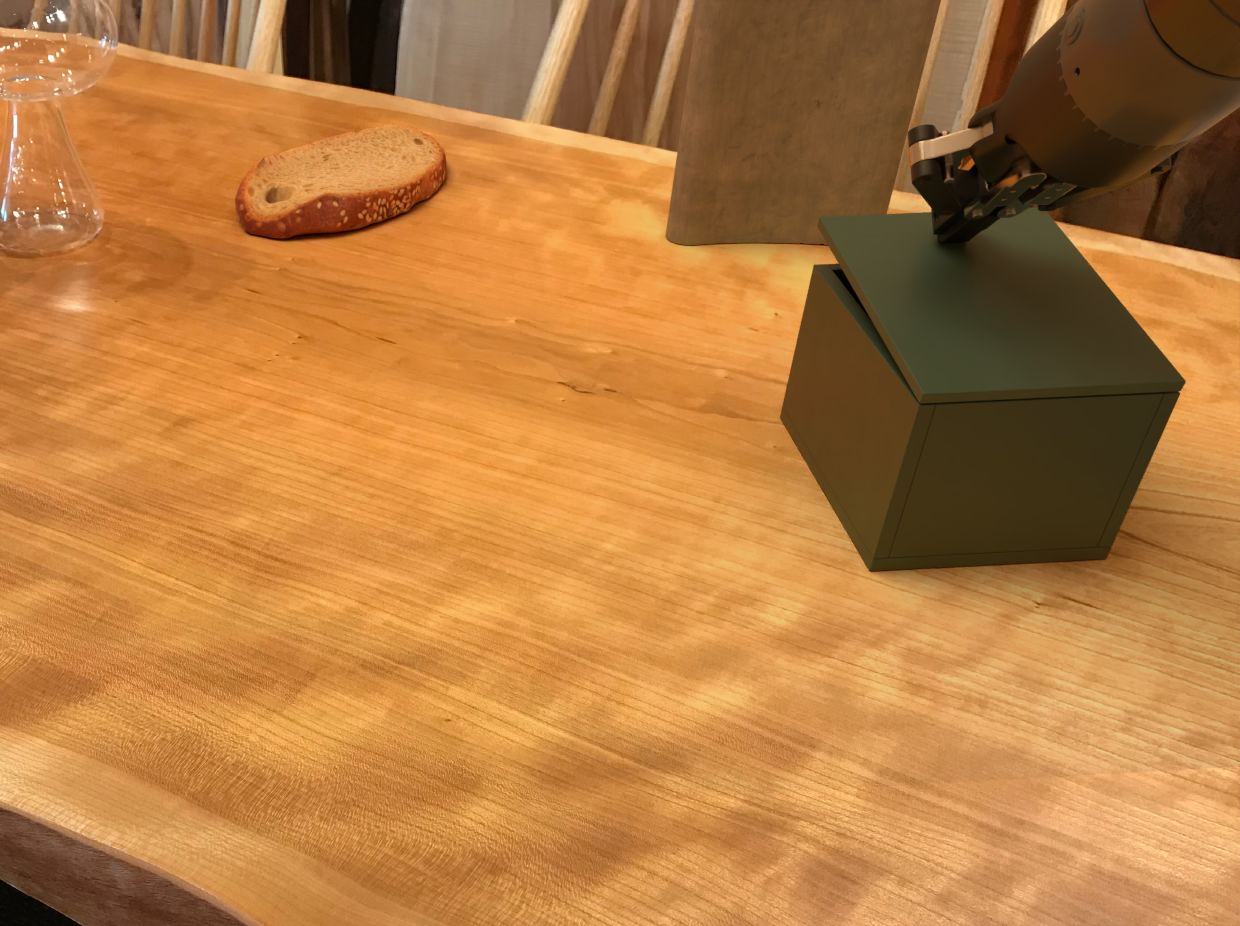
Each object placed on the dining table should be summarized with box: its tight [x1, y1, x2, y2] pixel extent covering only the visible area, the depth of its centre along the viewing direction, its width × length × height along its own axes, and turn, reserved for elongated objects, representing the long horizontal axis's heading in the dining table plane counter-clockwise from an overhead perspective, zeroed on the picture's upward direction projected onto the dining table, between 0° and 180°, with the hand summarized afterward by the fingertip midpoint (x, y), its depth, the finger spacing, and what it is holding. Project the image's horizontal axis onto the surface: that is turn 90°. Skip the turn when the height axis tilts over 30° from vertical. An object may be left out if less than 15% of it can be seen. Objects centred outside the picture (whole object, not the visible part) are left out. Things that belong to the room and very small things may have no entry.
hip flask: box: [665, 0, 942, 246], centre depth 93 cm, size 16×4×20 cm, turn 85°
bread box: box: [779, 263, 1181, 572], centre depth 71 cm, size 16×13×10 cm
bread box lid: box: [817, 206, 1187, 404], centre depth 67 cm, size 16×13×1 cm
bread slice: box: [234, 123, 448, 239], centre depth 106 cm, size 18×18×4 cm
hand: (950, 225), depth 70 cm, fingers closed
